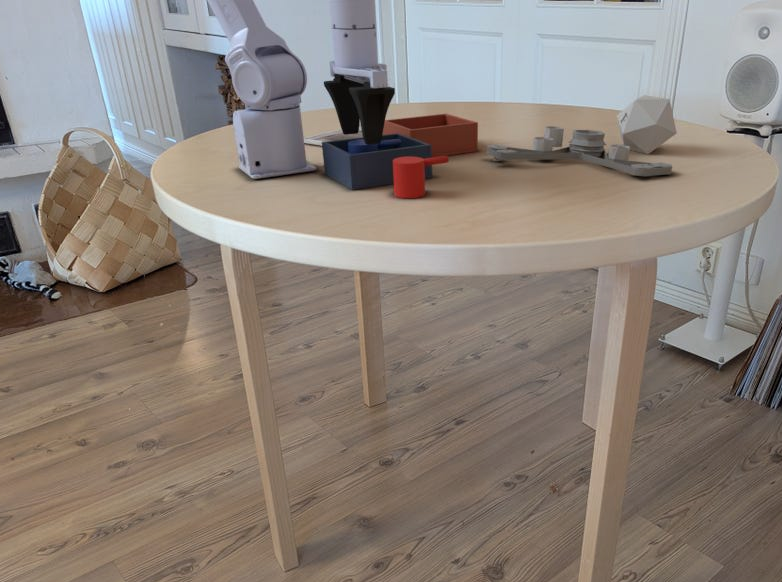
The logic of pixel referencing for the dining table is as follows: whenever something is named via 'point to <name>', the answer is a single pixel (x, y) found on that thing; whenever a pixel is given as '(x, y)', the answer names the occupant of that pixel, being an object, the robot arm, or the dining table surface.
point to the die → (646, 123)
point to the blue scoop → (370, 145)
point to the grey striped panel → (331, 137)
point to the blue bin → (371, 161)
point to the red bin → (438, 132)
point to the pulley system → (580, 152)
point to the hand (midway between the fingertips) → (361, 138)
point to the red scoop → (412, 175)
